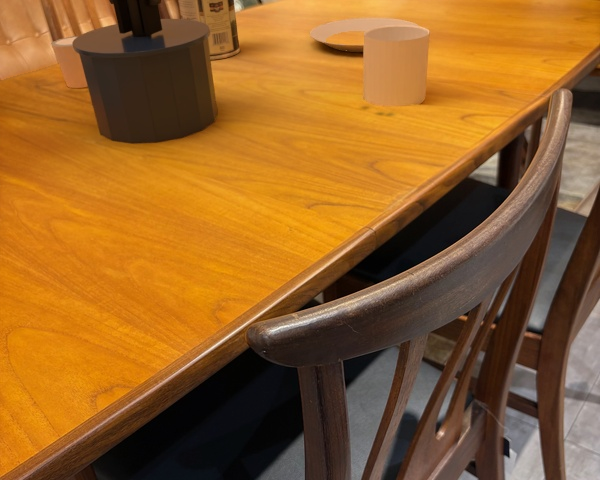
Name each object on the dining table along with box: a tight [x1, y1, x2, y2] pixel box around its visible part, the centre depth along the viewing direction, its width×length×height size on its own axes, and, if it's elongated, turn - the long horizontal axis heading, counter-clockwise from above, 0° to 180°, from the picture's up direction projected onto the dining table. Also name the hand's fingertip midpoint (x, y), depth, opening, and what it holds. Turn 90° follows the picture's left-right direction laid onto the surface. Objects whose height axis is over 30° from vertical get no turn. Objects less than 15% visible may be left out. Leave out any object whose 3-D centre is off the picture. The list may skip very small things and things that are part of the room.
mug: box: [362, 25, 430, 108], centre depth 89 cm, size 12×9×9 cm
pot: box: [79, 39, 219, 145], centre depth 84 cm, size 17×17×12 cm
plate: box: [309, 17, 420, 53], centre depth 116 cm, size 21×21×2 cm
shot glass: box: [50, 35, 88, 89], centre depth 104 cm, size 7×7×7 cm
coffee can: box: [177, 0, 241, 61], centre depth 113 cm, size 10×10×14 cm
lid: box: [72, 0, 210, 58], centre depth 78 cm, size 18×18×9 cm
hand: (141, 31), depth 80 cm, fingers open, 3 cm apart
